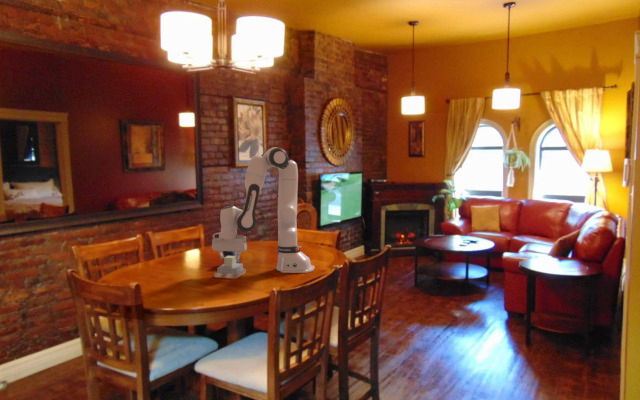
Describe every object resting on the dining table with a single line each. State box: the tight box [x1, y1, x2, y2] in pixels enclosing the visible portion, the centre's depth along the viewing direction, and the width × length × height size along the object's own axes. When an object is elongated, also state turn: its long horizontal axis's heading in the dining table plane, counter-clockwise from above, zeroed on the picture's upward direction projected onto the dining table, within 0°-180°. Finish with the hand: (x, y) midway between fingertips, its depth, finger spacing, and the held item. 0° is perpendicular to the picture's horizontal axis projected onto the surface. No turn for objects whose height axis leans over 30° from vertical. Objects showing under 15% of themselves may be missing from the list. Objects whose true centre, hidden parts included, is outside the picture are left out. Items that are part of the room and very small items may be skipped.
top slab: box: [216, 262, 244, 274], centre depth 259 cm, size 11×11×3 cm
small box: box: [222, 251, 240, 265], centre depth 279 cm, size 11×6×10 cm, turn 168°
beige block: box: [224, 256, 236, 267], centre depth 258 cm, size 5×5×5 cm
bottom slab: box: [213, 268, 247, 279], centre depth 259 cm, size 13×13×3 cm
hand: (229, 258), depth 258 cm, fingers open, 8 cm apart
